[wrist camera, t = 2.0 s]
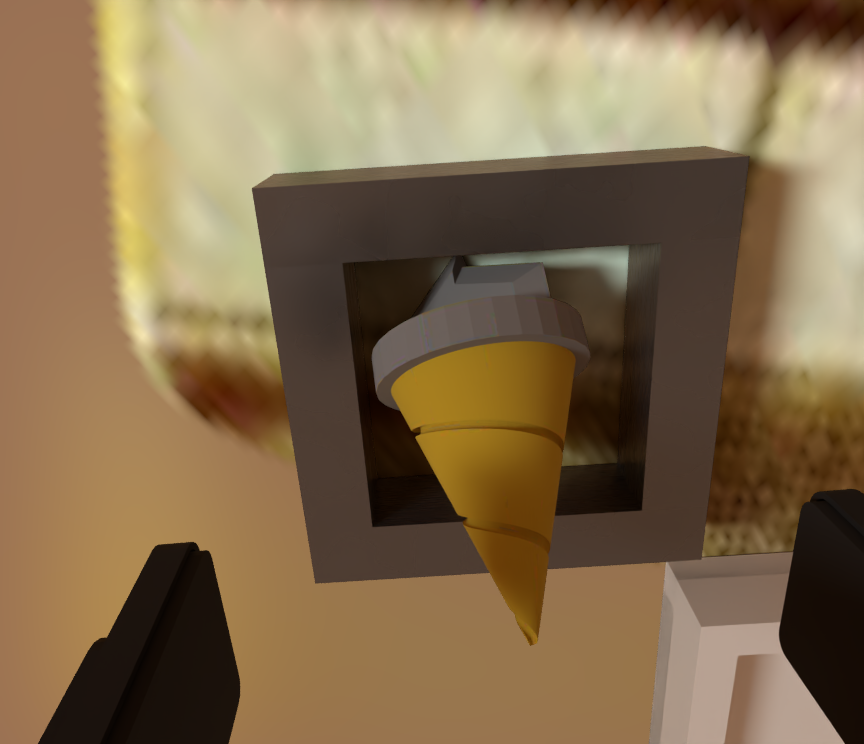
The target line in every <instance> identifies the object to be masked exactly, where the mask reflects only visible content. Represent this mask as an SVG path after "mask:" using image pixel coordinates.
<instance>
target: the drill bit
mask: <svg viewBox="0 0 864 744" xmlns="http://www.w3.org/2000/svg"><path fill="white" fill-rule="evenodd" d="M589 361H590V351H589V347H588V343H587V339H586V335H585V331H584V327H583V323H582V319H581V316H580V315H579V313H578V312H577V310H576V309H575V308H573V307H572V306H570V305H568V304H567V303H564V302H561V301H558V300H556V299H552V298H551V296H550V291H549V287H548V283H547V279H546V275H545V270H544V266H543V262H542V263H524V264H506V265H488V266H470V267H466V264H465V262H464V260H463V258H462V256H461V255H458V256H453V257H452V259H451V260H450V262H449V263H448V265H447V266H446V268H445V269H444V271H443V272H442V274H441V275H440V276H439V278H438V279H437V281H436V282H435V284H434V285H433V287H432V288H431V290H430V291H429V293H428V294H427V296H426V297H425V298H424V300H423V301H422V303H421V304H420V306H419V307H418V309H417V310H416V312H415V313H414V315H413V316H412V318H411V319H409V320H407V321H405V322H403V323H401V324H400V325H398V326H396V327H395V328H393V329H392V330H390V331H389V332H388V333H387V334H385V335H384V336H383V337H382V338H381V339H380V340H379V341H378V343H377V344H376V346H375V347H374V349H373V353H372V364H373V372H374V380H375V387H376V394H377V396H378V399H379V400H380V401H381V402H382V403H383V404H384V405H386V406H388V407H390V408H393V409H395V410H399V411H401V413H402V414H403V416H404V418H405V420H406V422H407V424H408V425H409V427H410V429H411V431H412V432H414V433H421V434H420V435H418V436H416V437H415V438H416V440H417V442H418V444H419V445H420V447H421V449H422V451H423V453H424V454H425V456H426V458H427V460H428V462H429V464H430V465H431V467H432V469H433V471H434V473H435V474H436V476H437V478H438V480H439V482H440V484H441V485H442V487H443V489H444V491H445V493H446V494H447V496H448V498H449V500H450V502H451V503H452V505H453V507H454V509H455V511H456V513H457V514H458V515H460V516H463V517H467V519H465V520H464V521H463V525H464V527H465V529H466V531H467V532H468V534H469V536H470V538H471V540H472V542H473V543H474V545H475V547H476V549H477V551H478V552H479V554H480V556H481V558H482V560H483V562H484V563H485V565H486V567H487V569H488V571H489V572H490V574H491V576H492V578H493V580H494V582H495V583H496V585H497V587H498V589H499V590H500V592H501V594H502V596H503V598H504V599H505V602H506V603H507V605H508V607H509V608H510V610H511V611H512V612H513V613H514V614H515V618H516V621H517V623H518V625H519V627H520V629H521V631H522V632H523V634H524V636H525V638H526V639H527V641H528V643H529V645H530V646H531V645H534V644H536V643H537V641H538V634H539V627H540V620H541V613H542V605H543V598H544V591H545V583H546V576H547V568H548V561H549V557H548V553H549V551H550V546H551V539H552V532H553V524H554V517H555V509H556V502H557V495H558V487H559V480H560V473H561V465H562V458H563V454H562V453H563V450H564V443H565V436H566V428H567V421H568V413H569V406H570V399H571V391H572V384H573V378H575V377H576V376H578V375H579V374H580V373H581V372H582V371H583V370H584V369H585V368H586V367H587V365H588V363H589Z"/></svg>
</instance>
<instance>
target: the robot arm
mask: <svg viewBox="0 0 864 744" xmlns="http://www.w3.org/2000/svg"><path fill="white" fill-rule="evenodd" d="M779 641H780V645H781V648H782V651H783V653H784V655H785V657H786V658H787V660H788V661H789V663H790V664H791V666H792V667H793V669H794V670H795V672H796V673H797V675H798V676H799V677H800V679H801V680H802V682H803V683H804V685H805V686H806V688H807V689H808V691H809V692H810V694H811V695H812V696H813V698H814V699H815V701H816V702H817V704H818V705H819V707H820V708H821V710H822V711H823V713H824V714H825V716H826V717H827V718H828V720H829V721H830V723H831V724H832V726H833V727H834V729H835V730H836V732H837V733H838V735H839V736H840V737H841V739H842V740H843V742H844V743H845V744H864V494H863V493H861V492H860V491H858V490H855V489H846V490H833V491H821V492H817V493H815V494H814V495H813V496H812V497H811V500H810V502H806V503H804V505H803V506H802V508H801V512H800V518H799V523H798V529H797V534H796V539H795V545H794V550H793V556H792V561H791V567H790V572H789V578H788V583H787V589H786V594H785V600H784V605H783V611H782V616H781V622H780V627H779ZM239 698H240V679H239V674H238V669H237V665H236V661H235V656H234V652H233V647H232V643H231V639H230V634H229V630H228V626H227V621H226V617H225V613H224V608H223V604H222V600H221V595H220V591H219V587H218V582H217V578H216V574H215V569H214V565H213V561H212V557H211V554H210V552H209V551H207V550H205V551H200V550H199V547H198V546H197V544H196V543H194V542H186V543H174V544H162V545H157V546H155V548H154V549H153V550H152V552H151V554H150V556H149V558H148V560H147V562H146V564H145V565H144V567H143V569H142V571H141V573H140V575H139V577H138V579H137V581H136V583H135V585H134V587H133V589H132V590H131V592H130V594H129V596H128V598H127V600H126V602H125V604H124V606H123V608H122V610H121V612H120V614H119V615H118V617H117V619H116V621H115V623H114V625H113V627H112V629H111V631H110V633H109V635H108V637H107V638H100V639H99V640H97V641H96V642H94V644H93V645H92V646H91V648H90V649H89V650H88V652H87V654H86V656H85V658H84V660H83V661H82V663H81V665H80V667H79V669H78V671H77V673H76V674H75V676H74V678H73V680H72V682H71V684H70V685H69V687H68V689H67V691H66V693H65V695H64V696H63V698H62V700H61V702H60V704H59V706H58V708H57V709H56V711H55V713H54V715H53V717H52V719H51V720H50V722H49V724H48V726H47V728H46V730H45V732H44V734H43V735H42V737H41V739H40V741H39V743H38V744H228V743H229V740H230V736H231V732H232V728H233V723H234V720H235V715H236V712H237V707H238V704H239Z"/></svg>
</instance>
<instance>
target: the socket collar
mask: <svg viewBox="0 0 864 744" xmlns="http://www.w3.org/2000/svg"><path fill="white" fill-rule="evenodd" d="M748 164H749V156H746V155H742V154H738V153H733V152H729V151H724V150H720V149H715V148H711V147H706V146H701V147H686V148H670V149H655V150H639V151H624V152H608V153H593V154H578V155H562V156H547V157H531V158H516V159H500V160H485V161H469V162H454V163H438V164H423V165H407V166H392V167H376V168H361V169H345V170H330V171H315V172H299V173H284V174H273V175H272V176H270V177H269V178H267V179H266V180H264V181H262V182H261V183H259V184H258V185H256V186H255V187H253V188H252V192H253V198H254V204H255V211H256V217H257V223H258V229H259V236H260V242H261V248H262V254H263V260H264V267H265V273H266V279H267V285H268V292H269V298H270V304H271V310H272V316H273V323H274V329H275V335H276V341H277V348H278V354H279V360H280V366H281V373H282V379H283V385H284V391H285V397H286V404H287V410H288V416H289V422H290V429H291V435H292V441H293V447H294V453H295V460H296V466H297V472H298V478H299V485H300V490H301V497H302V503H303V510H304V516H305V521H306V527H307V534H308V541H309V547H310V552H311V559H312V566H313V571H314V578H315V583H330V582H347V581H362V580H378V579H396V578H411V577H426V576H427V577H428V576H445V575H461V574H476V573H490V572H489V571H488V569H487V567H486V565H485V563H484V562H483V560H482V558H481V556H480V554H479V552H478V551H477V549H476V547H475V545H474V543H473V542H472V540H471V538H470V536H469V534H468V532H467V531H466V529H465V527H464V525H463V521H464V520H465V519H467V517H463V516H460V515H458V514H457V513H456V511H455V509H454V507H453V505H452V503H451V502H450V500H449V498H448V496H447V494H446V493H445V491H444V489H443V487H442V485H441V484H440V482H439V480H438V478H437V476H436V475H423V476H407V477H391V478H377V470H376V461H375V452H374V442H373V433H372V424H371V414H370V405H369V396H368V386H367V377H366V368H365V358H364V349H363V340H362V330H361V321H360V312H359V302H358V293H357V284H356V274H355V265H354V262H364V261H380V260H396V259H411V258H427V257H442V256H458V255H474V254H489V253H505V252H521V251H536V250H552V249H568V248H583V247H599V246H615V245H629V259H628V278H627V296H626V314H625V332H624V350H623V368H622V387H621V405H620V423H619V441H618V459H617V463H616V464H600V465H584V466H568V467H561V473H560V480H559V487H558V495H557V502H556V509H555V517H554V524H553V532H552V539H551V546H550V551H549V553H548V557H549V561H548V568H547V569H559V568H575V567H592V566H608V565H624V564H641V563H657V562H673V561H690V560H701V559H702V550H703V542H704V534H705V525H706V517H707V508H708V500H709V492H710V483H711V475H712V466H713V458H714V450H715V441H716V433H717V425H718V416H719V408H720V399H721V391H722V383H723V374H724V366H725V357H726V349H727V341H728V332H729V324H730V315H731V307H732V299H733V290H734V282H735V273H736V265H737V257H738V248H739V240H740V232H741V223H742V215H743V206H744V198H745V190H746V181H747V173H748Z"/></svg>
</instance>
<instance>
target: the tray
mask: <svg viewBox="0 0 864 744" xmlns="http://www.w3.org/2000/svg"><path fill="white" fill-rule="evenodd" d="M792 556H793V552H784V553H768V554H751V555H735V556H719V557H702V559H701V560H690V561H673V562H666V569H665V580H664V591H663V601H662V612H661V622H660V633H659V644H658V655H657V665H656V676H655V687H654V697H653V707H652V718H651V729H650V739H649V744H845V743H844V742H843V740H842V739H841V737H840V736H839V735H838V733H837V732H836V730H835V729H834V727H833V726H832V724H831V723H830V721H829V720H828V718H827V717H826V716H825V714H824V713H823V711H822V710H821V708H820V707H819V705H818V704H817V702H816V701H815V699H814V698H813V696H812V695H811V694H810V692H809V691H808V689H807V688H806V686H805V685H804V683H803V682H802V680H801V679H800V677H799V676H798V675H797V673H796V672H795V670H794V669H793V667H792V666H791V664H790V663H789V661H788V660H787V658H786V657H785V655H784V653H783V651H782V648H781V645H780V641H779V627H780V622H781V616H782V611H783V605H784V600H785V594H786V589H787V583H788V578H789V572H790V567H791V561H792Z"/></svg>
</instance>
